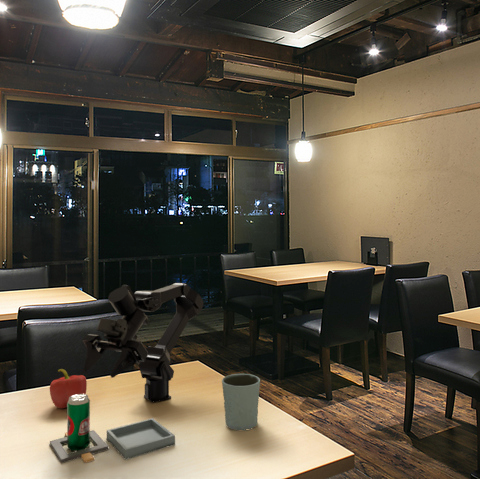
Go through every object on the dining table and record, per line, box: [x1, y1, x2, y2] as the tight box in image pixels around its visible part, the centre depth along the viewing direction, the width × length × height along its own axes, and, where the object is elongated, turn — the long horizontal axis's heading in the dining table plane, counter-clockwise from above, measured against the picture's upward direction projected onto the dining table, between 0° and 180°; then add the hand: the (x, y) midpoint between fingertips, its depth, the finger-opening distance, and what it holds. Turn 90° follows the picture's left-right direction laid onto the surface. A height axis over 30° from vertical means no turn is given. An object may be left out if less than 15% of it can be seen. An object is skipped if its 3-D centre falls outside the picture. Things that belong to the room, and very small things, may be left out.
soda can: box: [66, 393, 91, 452], centre depth 106 cm, size 5×5×12 cm
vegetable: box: [49, 368, 88, 409], centre depth 132 cm, size 11×10×10 cm
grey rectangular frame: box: [49, 429, 109, 464], centre depth 107 cm, size 11×17×1 cm, turn 36°
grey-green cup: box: [221, 373, 261, 431], centre depth 120 cm, size 10×10×12 cm
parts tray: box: [106, 417, 176, 460], centre depth 109 cm, size 12×12×2 cm
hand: (97, 374), depth 115 cm, fingers open, 9 cm apart
